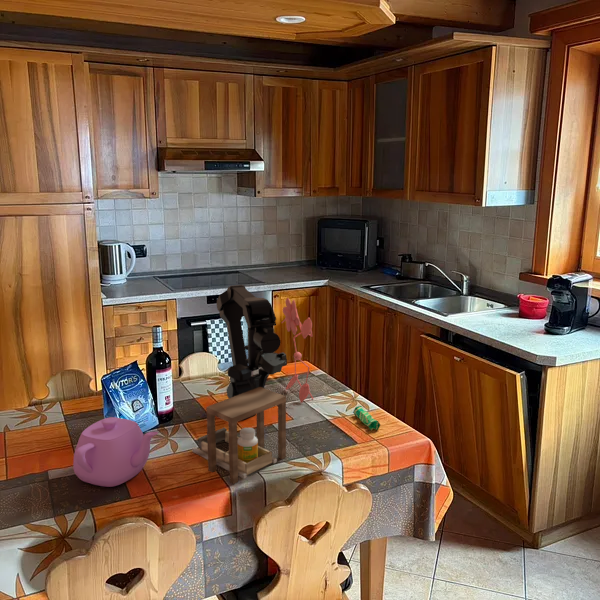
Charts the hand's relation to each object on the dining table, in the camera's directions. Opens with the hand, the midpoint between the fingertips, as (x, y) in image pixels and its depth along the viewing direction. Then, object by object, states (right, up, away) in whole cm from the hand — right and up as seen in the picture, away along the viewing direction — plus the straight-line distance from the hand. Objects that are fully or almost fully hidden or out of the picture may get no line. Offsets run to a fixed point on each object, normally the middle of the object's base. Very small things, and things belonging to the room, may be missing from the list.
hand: (258, 393), depth 176 cm
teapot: (-36, -18, -19) cm, 44 cm away
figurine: (+9, -6, +31) cm, 33 cm away
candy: (+33, -11, +12) cm, 37 cm away
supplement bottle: (-2, -17, -14) cm, 22 cm away
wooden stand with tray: (-6, -16, -10) cm, 20 cm away
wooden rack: (-6, -15, -10) cm, 20 cm away
